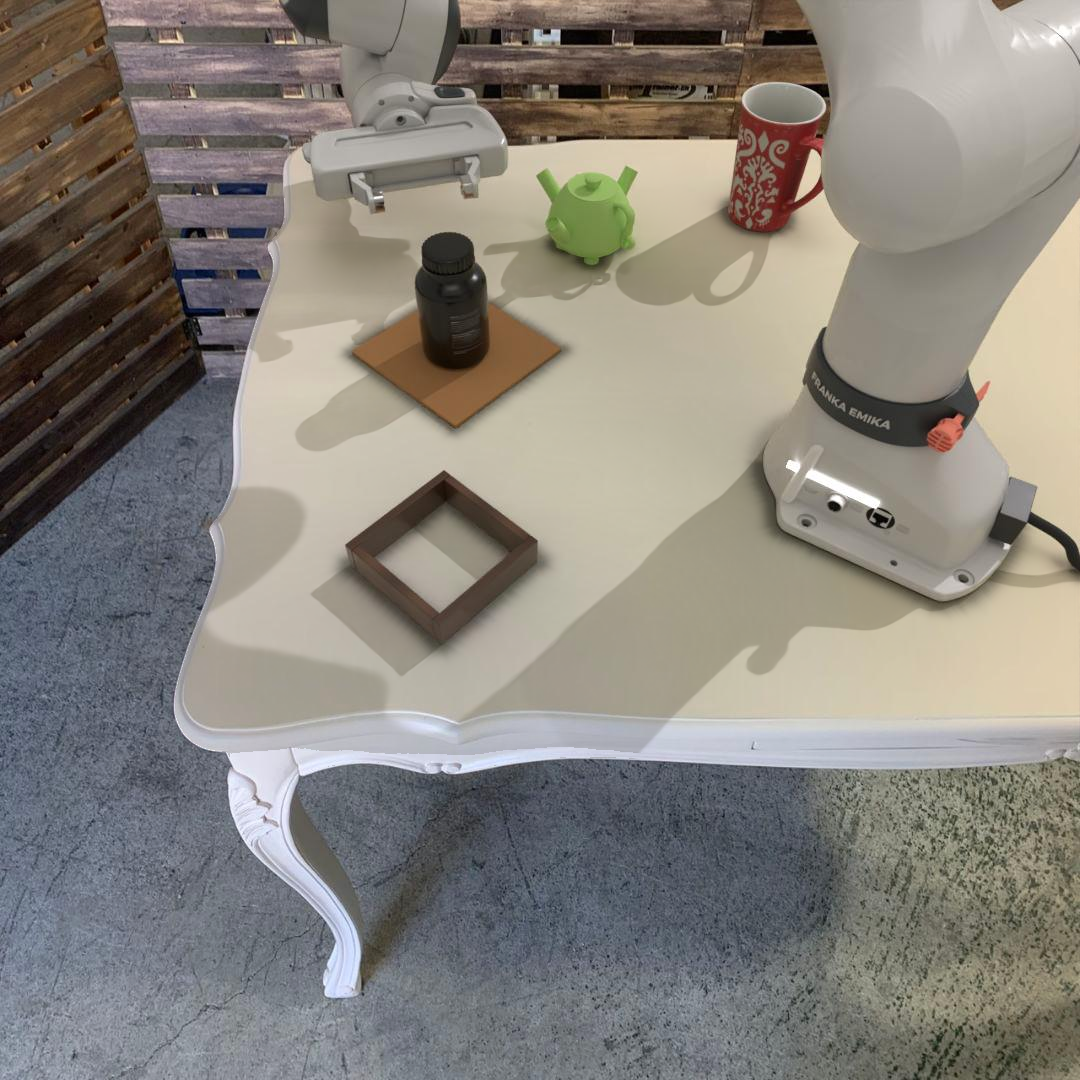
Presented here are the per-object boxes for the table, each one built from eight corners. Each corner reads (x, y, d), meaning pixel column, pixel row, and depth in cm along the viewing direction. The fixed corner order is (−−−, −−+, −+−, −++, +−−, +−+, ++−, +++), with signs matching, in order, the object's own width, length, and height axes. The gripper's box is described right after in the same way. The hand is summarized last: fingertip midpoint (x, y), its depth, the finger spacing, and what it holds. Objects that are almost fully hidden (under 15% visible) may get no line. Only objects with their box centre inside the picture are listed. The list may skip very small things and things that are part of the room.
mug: (703, 206, 107) (724, 94, 96) (760, 184, 110) (787, 73, 99) (774, 262, 101) (805, 149, 90) (833, 237, 104) (869, 124, 93)
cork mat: (561, 351, 91) (561, 348, 91) (455, 428, 85) (455, 425, 84) (458, 286, 97) (458, 283, 97) (351, 354, 91) (351, 351, 90)
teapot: (644, 274, 99) (653, 205, 92) (540, 277, 99) (542, 208, 92) (631, 215, 106) (639, 147, 99) (534, 217, 105) (535, 148, 98)
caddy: (537, 561, 76) (538, 540, 73) (442, 645, 71) (439, 625, 68) (446, 491, 80) (444, 469, 78) (350, 565, 75) (344, 544, 73)
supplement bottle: (494, 329, 93) (491, 227, 83) (485, 374, 89) (480, 273, 79) (428, 323, 93) (417, 221, 83) (416, 369, 89) (403, 267, 79)
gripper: (293, 111, 92) (313, 186, 84) (486, 86, 96) (522, 155, 88) (305, 168, 97) (324, 243, 89) (488, 142, 101) (522, 212, 93)
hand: (424, 199), depth 89 cm, fingers open, 8 cm apart
